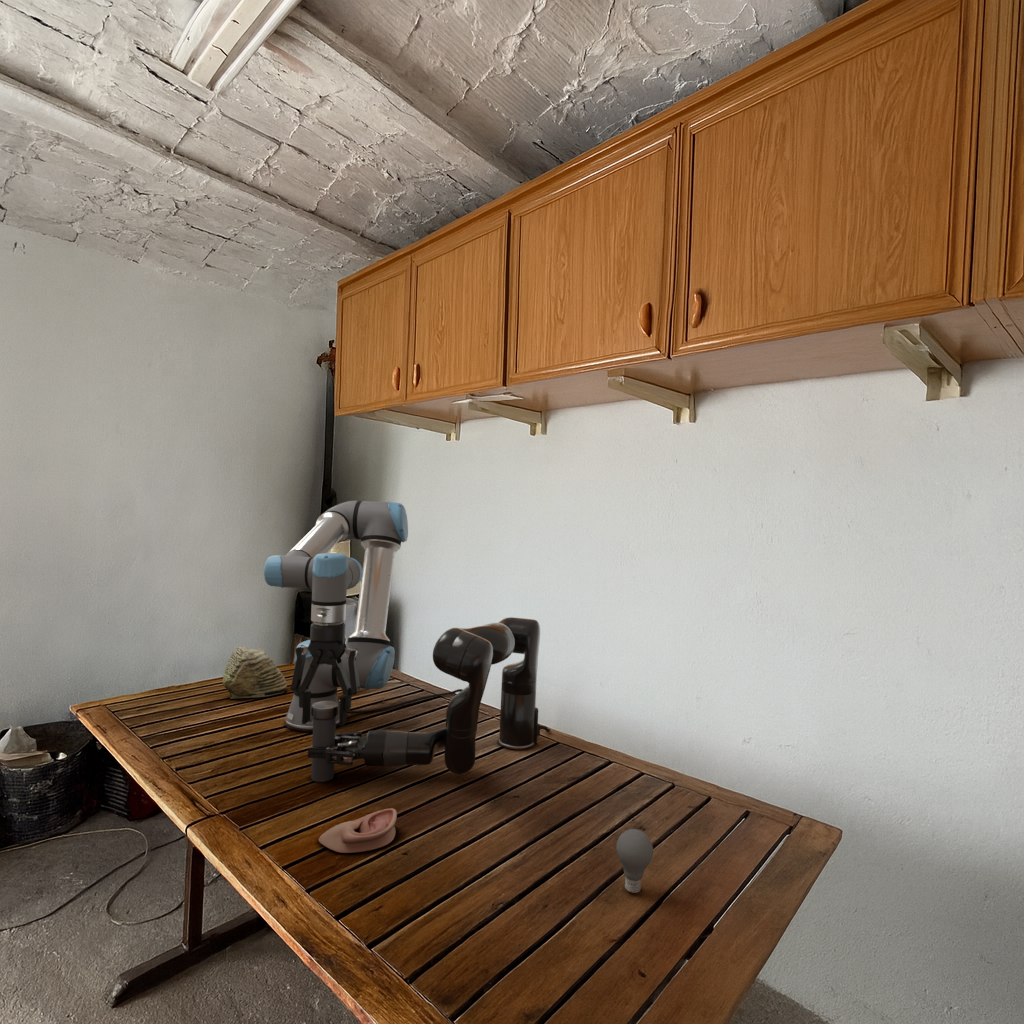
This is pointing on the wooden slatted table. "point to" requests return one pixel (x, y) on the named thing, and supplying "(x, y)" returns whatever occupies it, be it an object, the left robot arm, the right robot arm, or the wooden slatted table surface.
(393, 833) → the anatomical model
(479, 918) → the wooden slatted table surface
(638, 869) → the light bulb
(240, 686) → the fossil
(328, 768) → the dark grey cylinder
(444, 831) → the wooden slatted table surface
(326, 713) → the lid
